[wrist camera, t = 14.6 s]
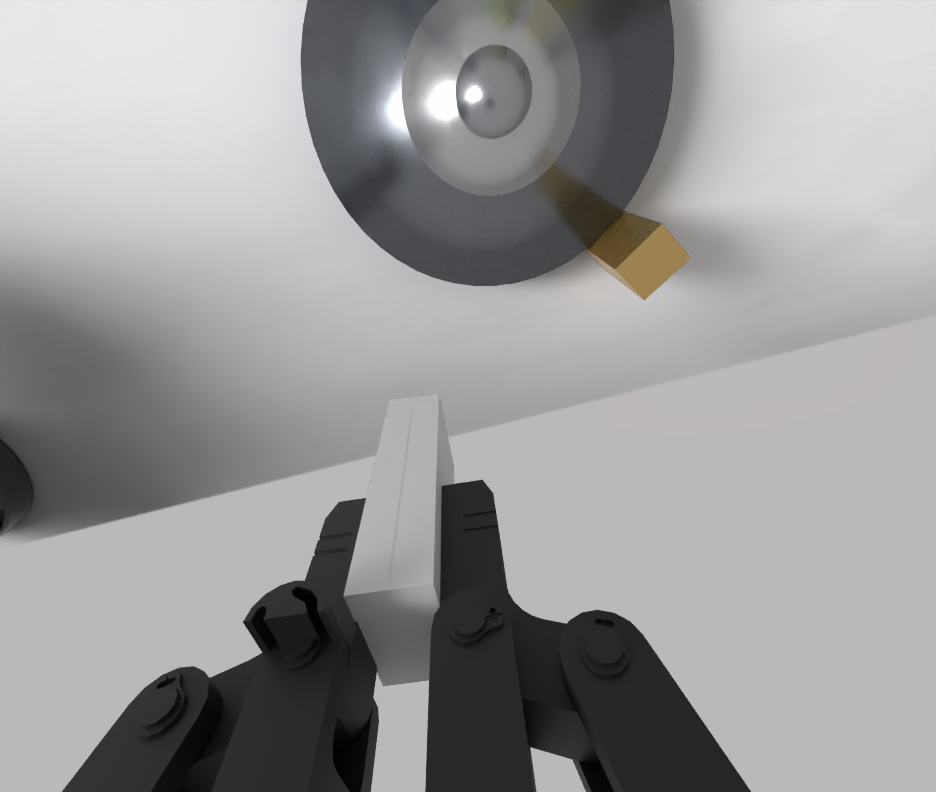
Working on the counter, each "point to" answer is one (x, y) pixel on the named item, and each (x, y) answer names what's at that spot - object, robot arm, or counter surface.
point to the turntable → (513, 214)
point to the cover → (490, 92)
